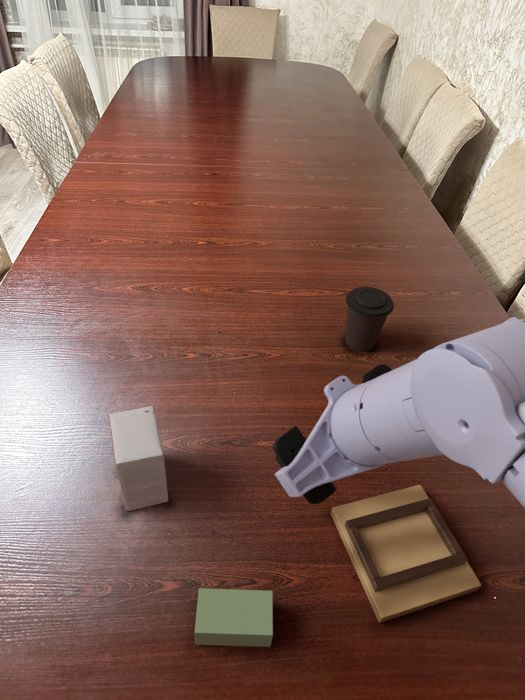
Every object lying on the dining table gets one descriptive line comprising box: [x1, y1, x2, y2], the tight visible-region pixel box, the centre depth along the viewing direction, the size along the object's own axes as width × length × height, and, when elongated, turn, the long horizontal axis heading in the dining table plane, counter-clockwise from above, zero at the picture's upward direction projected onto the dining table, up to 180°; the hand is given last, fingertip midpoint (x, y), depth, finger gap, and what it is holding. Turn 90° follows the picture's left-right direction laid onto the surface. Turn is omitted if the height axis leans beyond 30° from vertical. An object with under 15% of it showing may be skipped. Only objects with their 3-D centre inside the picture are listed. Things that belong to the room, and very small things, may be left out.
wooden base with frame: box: [330, 484, 482, 624], centre depth 64 cm, size 14×13×3 cm
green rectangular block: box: [194, 587, 274, 648], centre depth 56 cm, size 4×8×4 cm, turn 90°
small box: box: [108, 405, 169, 512], centre depth 66 cm, size 8×6×10 cm
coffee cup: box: [344, 286, 395, 352], centre depth 90 cm, size 8×8×10 cm
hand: (317, 440), depth 46 cm, fingers open, 7 cm apart
